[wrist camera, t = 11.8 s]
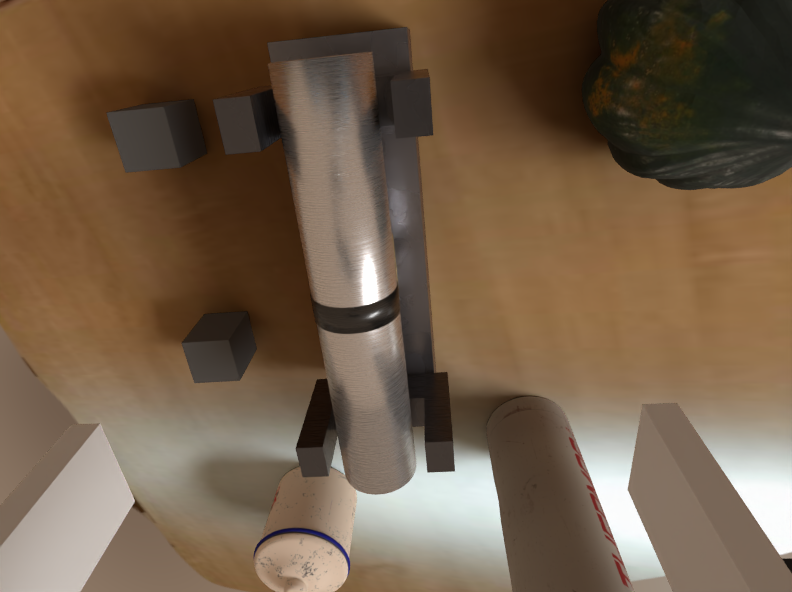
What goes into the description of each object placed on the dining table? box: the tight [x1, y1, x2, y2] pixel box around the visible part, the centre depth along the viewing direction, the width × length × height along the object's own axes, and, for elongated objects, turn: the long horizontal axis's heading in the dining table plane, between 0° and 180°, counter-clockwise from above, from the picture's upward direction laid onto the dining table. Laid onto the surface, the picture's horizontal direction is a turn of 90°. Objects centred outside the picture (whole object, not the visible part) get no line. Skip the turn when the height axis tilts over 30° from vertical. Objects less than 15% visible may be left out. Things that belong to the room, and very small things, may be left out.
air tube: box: [268, 52, 416, 494], centre depth 30 cm, size 26×5×5 cm, turn 6°
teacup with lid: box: [254, 467, 357, 592], centre depth 52 cm, size 12×9×12 cm
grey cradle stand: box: [213, 27, 455, 477], centre depth 35 cm, size 28×10×16 cm, turn 6°
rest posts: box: [107, 99, 257, 383], centre depth 41 cm, size 22×4×5 cm, turn 6°
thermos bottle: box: [486, 396, 634, 592], centre depth 38 cm, size 8×8×28 cm
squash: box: [582, 0, 792, 190], centre depth 31 cm, size 14×15×15 cm
